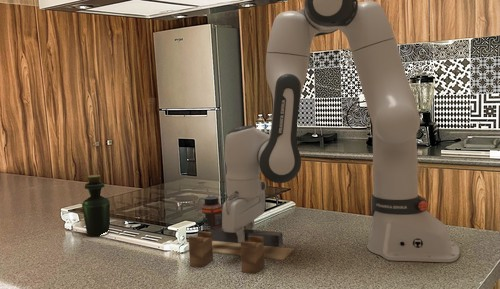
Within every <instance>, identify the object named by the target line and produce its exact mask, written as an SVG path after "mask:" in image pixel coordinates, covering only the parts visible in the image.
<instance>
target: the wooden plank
mask: <svg viewBox="0 0 500 289" xmlns="http://www.w3.org/2000/svg"><path fill="white" fill-rule="evenodd" d="M212 249H213V254H222V255H231V256H240V257H241V243H230V242H220V241H212ZM293 251H294V248H290V247H281V246H280V247H272V246H264V259H268V260H277V261H278V260H279V261H284V260H285V259H286V258H287V257H288V256H289V255H290V254H292V252H293Z"/></svg>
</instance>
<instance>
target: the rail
mask: <svg viewBox="0 0 500 289" xmlns="http://www.w3.org/2000/svg"><path fill="white" fill-rule="evenodd" d="M209 232H212V241H220V242H230V243H239V242H238V236H237V234H236V232H235V233H232V232H224V230H223V228H222V227H212V228H211V229H209ZM244 234H245V235H246V241H245V242H248V236H260V237H263V241H264V246H271V247H281V245H283V242H284V241H283V232H282V231H273V230H272V231H270V230H258V229H253V230H248V229H246V228H245V229H244Z"/></svg>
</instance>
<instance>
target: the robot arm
mask: <svg viewBox="0 0 500 289" xmlns="http://www.w3.org/2000/svg"><path fill="white" fill-rule="evenodd" d="M338 30H339V31H340V32H342V33H343V35H344V36H345V37H346V40H347V41H348V45H349V49H350V52H351V56H352V59H353V64H354V65H355V70H356V73H357V76H358V79H359V82H360V83H359V84H360V86H361V89H362V92H363V94H362V95H363V97H364V100H365V104H366V107H367V111H368V114H369V118H370V121H371V125H372V195H371V198H370V199H371V200H370V207H371V208H370V210H371V211H370V212H371V216H372V221H371V230H370V236H369V239H368V243H367V246H366V247H367V249H368V251H369V252H371V253H373V254H374V255H375V254H376V255H378V256H381V257H383V258H384V259H385V260H387V261H398V262H399V261H400V262H403V261H404V262H422V263H423V262H425V263H426V262H429V263H453V262H455V261H457V260H458V259H459V258H460V255H461V254H460V253H461V252H460V247H459V245H458V244H456V243H455V242H453V241H451V237H450V233H449V229H448V228H447V226H446V225H445V223H443V222H442V221H440V220H439V218H436V217H435V216H434V215H433V214H431V213H430V212H429V211H428V210H427V208H428V202H427V199H426V196H424V197H423V196H421V195H419V161H418V160H419V159H418V148H417V147H418V143H417V133H418V132H419V129H420V127H421V126H420V125H421V117H420V114H419V110H418V106H417V105H416V104H417V103H416V100H415V97H414V95H413V92H412V91H413V90H412V88H411V84H410V83H409V80H408V77H407V74H406V70H405V68H404V64H403V61H402V58H401V53H400V51H399V50H400V49H399V47H398V43H397V41H396V37H395V33H394V31H393V28H392V26H391V23H390V20H389V19H388V16H387V15H386V12H385V11H384V8H383V6H382V4H380V3H379V2H376V1H374V0H365V1H361V2H360V1H358V0H304V6H303V7H302V8H301V9H299V10H285V11H282V12H280V13H279V14H277V15H276V17H275V18H274V20H273V22H272V25H271V29H270V33H269V37H268V41H267V46H266V55H265V78H266V79H265V80H266V82H267V85H268V86H269V90H270V93H271V96H272V115H271V124H270V134H268V133H266V132H264V131H262V130H259V128H257V127H255V125H243V126H239V127H235V128H232V129H231V130H230V131H228V133H227V134H226V136H225V141H224V162H225V165H226V174H225V183H226V184H225V186H226V197H227V198H226V201H224V203H223V204H222V228H223V230H224V232H232V233H235V232H236V234H237V236H238V242H239V243H240V244H241V242H242V241H246V235H245V234H244V229H248V230H254V226H255V220H256V219H258V218H259V217H260V216H262V215H264V212H265V209H266V192H265V190H266V188H267V183H266V181H265V180H262V179H260V178H261V177H260V176H261V174H262V175H263V176H264V177H265V179H266V180H268V181H270V182H272V183H274V184H284V183H285V184H286V183H288V182H290V181H291V180H294V179H295V178H296V177H297V175H298V174H299V172H300V170H301V167H302V158H301V154H300V149H299V147H298V144H297V143H298V142H297V131H298V123H299V122H298V121H299V111H300V104H301V98H302V93H303V90H304V85H305V82H306V79H307V75H308V70H309V65H310V57H311V48H312V43H313V40H314V37H319V36H324V35H330V34H333V33H335V32H337V31H338ZM244 226H246V227H245V228H244Z"/></svg>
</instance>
